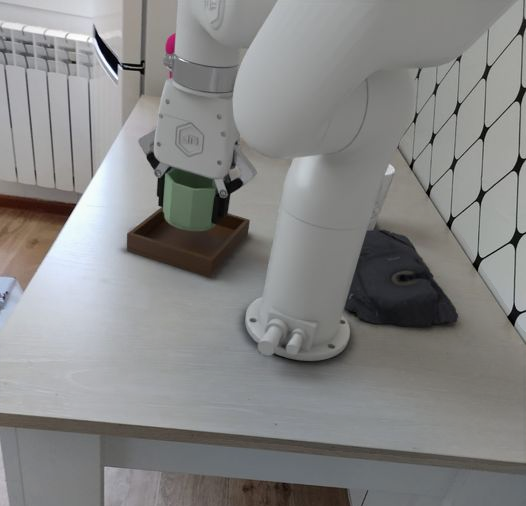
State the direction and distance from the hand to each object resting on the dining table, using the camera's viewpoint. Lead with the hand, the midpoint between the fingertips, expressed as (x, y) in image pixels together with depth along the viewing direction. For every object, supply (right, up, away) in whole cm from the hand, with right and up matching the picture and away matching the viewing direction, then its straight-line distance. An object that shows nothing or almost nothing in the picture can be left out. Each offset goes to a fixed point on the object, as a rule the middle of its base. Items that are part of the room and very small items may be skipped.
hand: (191, 210), depth 80 cm
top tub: (0, -1, +1) cm, 1 cm away
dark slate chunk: (+27, -10, +3) cm, 29 cm away
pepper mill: (-7, +23, +36) cm, 43 cm away
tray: (0, -4, +3) cm, 5 cm away
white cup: (+25, +2, +17) cm, 30 cm away
